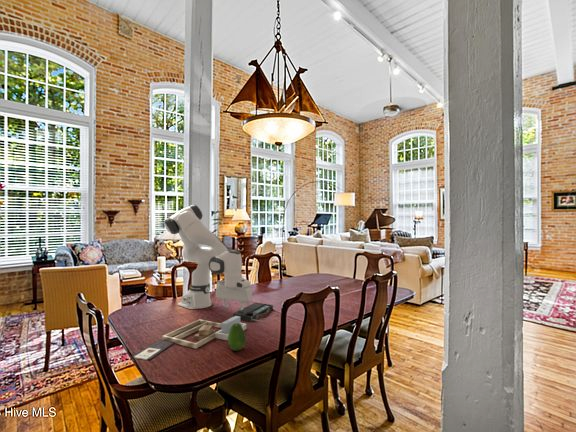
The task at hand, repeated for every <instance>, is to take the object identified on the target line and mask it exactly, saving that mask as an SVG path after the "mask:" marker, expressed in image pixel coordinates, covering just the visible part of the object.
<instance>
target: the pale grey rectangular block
mask: <svg viewBox="0 0 576 432" xmlns="http://www.w3.org/2000/svg"><path fill="white" fill-rule="evenodd" d="M235 323H238V324H240V323H241V320H240V316H234V317H233V316H232V317H229V318H228V319H227V320H224V321H222V322H221V328H220V330H221V333H223V334H228V333H229V332H230V329H231V326H232V325H233V324H235Z"/></svg>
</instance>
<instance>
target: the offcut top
mask: <svg viewBox="0 0 576 432" xmlns="http://www.w3.org/2000/svg"><path fill="white" fill-rule="evenodd" d="M212 329H213V326H212V325H203V326H202V327H201V328H200V329H199V330H198V333H199V335H209V334H210V332H211V331H212Z"/></svg>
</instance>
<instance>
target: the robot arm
mask: <svg viewBox="0 0 576 432" xmlns="http://www.w3.org/2000/svg"><path fill="white" fill-rule="evenodd" d="M203 217H204V216H203V212H202V209H201V208H200V207H199V206H198V205H196V204H191V205H189V206H187V207H184V208H182V209H180V210H179V211H177V212H175V213H174V214H172V215H171V216H169V217H167V218H166V219H165V220H164V228H165V229H166V231H167V232H169V233H170V234H171V235H177V234H178V235H179V237H180V239H181V240H182V242H183V245H184V247H185V248H184V250H183V254H182V256H183V258H184V260H185V261H188V262H190V263H195V264H197V265H196V269H194V270H193V271H192V272H191V284H189V285H188V288H189V289H188V290H187V291H186V292H185V293H183V294H182V296H181V301H179V302H178V303H177V306H179V307H181V308H186V309H189V310H195V309H204V308H205V309H206V308H208V307H211V306H212V301H211V294H210V290H211V284H210V272H211V273H212V274H214V275H221V274H223V275H224V280H222V279H219V280H218V281H217V282H216V288H215V297H216V299H221V302H222V304H223V308H228V307H229V303H228V302H227V300H228V301H235V302H240V304H241V305H238V311H239V310H243V308H244V307H245V304H246V303H249V302H251V301H252V299H253V294H252V293H253V291H252V287H251V281H250V280H248V279H246V278H244V277H243V273H242V267H243V258H242V254H241V252H240V250H237V249H231V248H228V246H226V244H225V243H224V242H223V241H222V240H221V239H220V238H219V237H218V236H217V235H216V234H215V233H213V232H212V231H210V229H209V228H207V227H206V225H205V224H204V223H203V222H202V218H203ZM203 245H204V246H203Z"/></svg>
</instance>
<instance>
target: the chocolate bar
mask: <svg viewBox="0 0 576 432" xmlns="http://www.w3.org/2000/svg"><path fill="white" fill-rule="evenodd" d="M174 344H175V342H172V341H167V340H162V339H158V340H156V341H154V342H152V343H151V344H150V345H148V346H146V347H144V348H143V349H142V350H140V351H138V352H136V353H135V354H133V355H132V356H131V359H137V360H145V361H151V360H153V359H154V358H155V357H158V355H160V354H161V353H162V352H164V351H166V350H168V349H169V348H171V346H173V345H174Z"/></svg>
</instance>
